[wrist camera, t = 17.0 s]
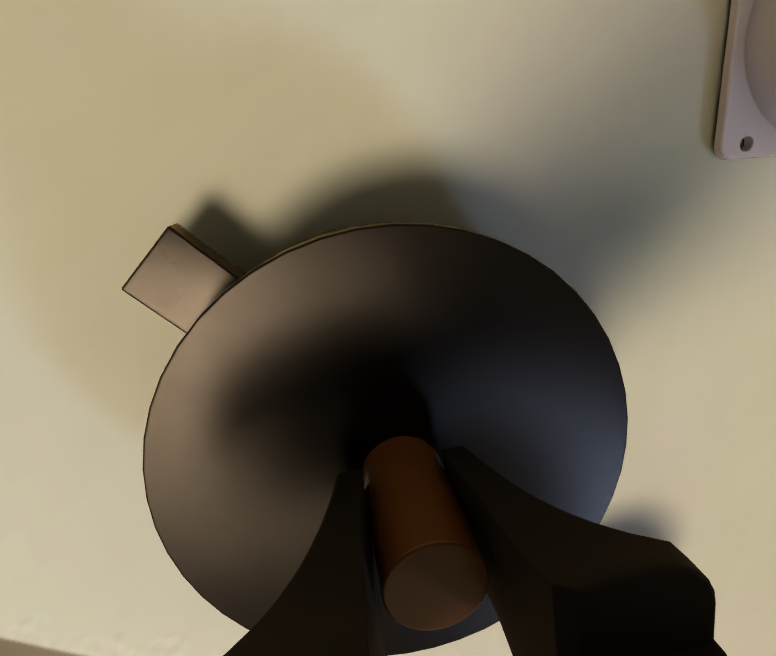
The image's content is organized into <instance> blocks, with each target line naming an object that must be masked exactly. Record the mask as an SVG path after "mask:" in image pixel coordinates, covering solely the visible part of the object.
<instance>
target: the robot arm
mask: <svg viewBox="0 0 776 656" xmlns="http://www.w3.org/2000/svg"><path fill="white" fill-rule="evenodd" d="M742 139H744V146H743V148H742V149H740V142H741V140H742ZM714 152H715V154H716V156H717V157H718V158H720V159H724V160H727V159H742V158H754V157H766V156H776V0H731V9H730V17H729V25H728V34H727V42H726V51H725V59H724V67H723V76H722V84H721V92H720V101H719V109H718V118H717V126H716V134H715V143H714ZM442 456H443V463H444V469H445V472H446V474H447V476H448V479H449V481H450V483H451V485H452V488H453V490H454V492H455V494H456V496H457V499H458V501H459V503H460V505H461V507H462V510H463V512H464V514H465V516H466V519H467V521H468V523H469V525H470V528H471V530H472V532H473V534H474V537H475V539H476V541H477V543H478V546H479V548H480V550H481V552H482V554H483V557H484V559H485V561H486V564H487V566H488V570H489V585H488V589H487V592H486V593H487V595H488V597H489V599H490V601H491V603H492V605H493V607H494V609H495V611H496V614H497V616H498V618H499V621H500V623H501V625H502V628H503V631H504V633H505V636H506V639H507V641H508V644H509V647H510V649H511V652H512V655H513V656H727V655H726V653H725V652H724V651H723V649H722V648H721V647H720V646H719V645H718V644H717V642H716V641H715V640H714V623H715V605H716V602H715V592H714V589H713V587H712V585H711V583H710V581H709V579H708V578H707V577H706V576H705V575H704V574H703V573H702V572H701V571H700V570H699V569H698V568H697V567H696V566H695V565H694V564H693V563H692V562H691V561H690V560H689V559H688V558H687V557H686V556H685V555H684V554H683V553H682V552H681V551H680V550H678V549H677V548H676V547H675V546H674V545H673V544H672V543H671V542H669V541H664V540H659V539H655V538H650V537H645V536H640V535H635V534H631V533H627V532H624V531H620V530H617V529H613V528H610V527H606V526H603V525H600V524H597V523H594V522H591V521H588V520H586V519H583V518H581V517H578V516H575V515H573V514H570V513H568V512H566V511H563V510H561V509H559V508H557V507H555V506H553V505H551V504H548V503H546V502H544V501H542V500H540V499H538V498H537V497H535V496H533V495H531V494H529V493H528V492H526V491H524V490H523V489H521V488H519V487H518V486H516V485H515V484H513V483H512V482H510V481H509V480H507V479H506V478H505V477H503V476H502V475H500V474H499V473H497V472H496V471H495V470H493V469H492V468H491V467H489V466H488V465H487V464H485V463H484V462H483V461H481V460H480V459H479V458H478V457H476V456H475V455H474V454H473V453H471V452H470V451H469V450H468V449H467V448H465V447H464V446H458V447H453V448H449V449H445V450H442ZM223 656H387V654H386V646H385V637H384V624H383V611H382V597H381V591H380V585H379V579H378V573H377V567H376V561H375V555H374V549H373V543H372V537H371V530H370V523H369V513H368V507H367V501H366V495H365V490H364V485H363V480H362V476H361V471H360V469H357V470H353V471H348V472H344V473H340V474H338V476H337V477H336V480H335V485H334V489H333V493H332V496H331V499H330V502H329V505H328V508H327V510H326V513H325V515H324V518H323V521H322V523H321V526H320V528H319V530H318V532H317V534H316V536H315V538H314V541H313V543H312V545H311V547H310V549H309V551H308V552H307V554H306V556H305V558H304V560H303V561H302V563H301V565H300V566H299V568H298V570H297V571H296V573H295V575H294V576H293V577H292V579H291V580H290V582H289V583H288V585H287V586H286V588H285V589H284V591H283V592H282V593H281V595H280V596H279V597H278V599H277V600H276V601H275V603H274V604H273V605H272V606H271V607H270V609H269V610H268V611H267V612H266V613H265V615H264V616H263V617H262V618H261V619H260V620H259V621H258V622H257V623H256V625H255V626H254V627H253V628H252V629H251V630H250V631H249V632H248V633H247V634H246V635H245V636H244V637H243V638H242V639H240V640H239V641H238V642H237V643H236V644H235V645H234V646H233V647H232V648H231V649H230V650H229V651H228V652H227V653H226V654H225V655H223Z"/></svg>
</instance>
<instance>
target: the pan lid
mask: <svg viewBox="0 0 776 656" xmlns="http://www.w3.org/2000/svg"><path fill="white" fill-rule="evenodd" d="M627 421H628V416H627V405H626V393H625V388H624V383H623V379H622V375H621V370H620V366H619V363H618V361H617V358H616V356H615V353H614V351H613V348H612V345H611V343H610V340H609V338H608V336H607V335H606V333H605V331H604V330H603V328H602V326H601V324H600V323H599V321H598V319H597V318H596V316H595V314H594V313H593V312H592V310H591V309H590V308H589V307H588V306H587V304H586V303H585V302H584V301H583V299H582V298H581V297H580V296H579V294H578V293H577V292H576V291H575V290H574V289H573V288H572V287H571V286H570V285H568V284H567V283H566V282H565V281H564V280H563V279H562V278H561V277H560V276H558V275H557V274H556V273H555V272H554V271H553V270H551V269H550V268H548V267H547V266H545V265H544V264H542V263H541V262H539V261H538V260H536V259H535V258H533V257H532V256H530V255H529V254H527V253H525V252H523V251H521V250H519V249H517V248H514V247H512V246H510V245H508V244H506V243H504V242H502V241H499V240H497V239H495V238H492V237H489V236H485V235H482V234H479V233H475V232H472V231H469V230H465V229H462V228H457V227H451V226H444V225H438V224H431V223H413V222H388V223H380V224H371V225H363V226H355V227H351V228H347V229H343V230H339V231H335V232H331V233H327V234H324V235H320V236H317V237H315V238H312V239H310V240H307V241H305V242H302V243H300V244H297V245H295V246H292V247H290V248H287V249H285V250H284V251H282V252H280V253H278V254H276V255H275V256H273V257H271V258H269V259H268V260H266V261H264V262H262V263H261V264H259V265H257V266H255V267H254V268H252V269H251V270H250V271H249V272H247V273H246V274H245V275H243V276H242V277H241V278H239V279H238V280H237V281H235V282H234V283H233V284H231V285H230V286H229V287H228V288H226V289H225V290H224V291H223V292H222V293H221V294H220V295H219V296H218V297H217V298H216V299H215V300H214V301H213V302H212V303H211V304H210V305H209V306H208V307H207V308H206V309H205V310H204V311H203V312H202V313H201V314H200V316H199V317H198V318H197V320H196V321H195V322H194V324H193V325H192V326H191V328H190V329H189V330H188V332H187V333H186V334H185V336H184V337H183V338H182V340H181V341H180V343H179V344H178V345H177V347H176V349H175V350H174V352H173V354H172V356H171V358H170V360H169V362H168V363H167V365H166V367H165V369H164V371H163V373H162V375H161V377H160V379H159V382H158V385H157V388H156V391H155V393H154V396H153V399H152V402H151V405H150V408H149V413H148V418H147V423H146V429H145V434H144V443H143V475H144V483H145V490H146V498H147V502H148V505H149V509H150V512H151V515H152V519H153V522H154V525H155V528H156V530H157V532H158V534H159V537H160V539H161V541H162V543H163V545H164V547H165V549H166V551H167V553H168V555H169V556H170V558H171V559H172V561H173V562H174V564H175V565H176V566H177V568H178V569H179V571H180V572H181V574H182V575H183V577H184V578H185V579H186V580H187V581H188V582H189V583H190V584H191V585H192V586H193V587H194V589H195V590H196V591H197V592H198V593H199V594H200V595H201V596H202V597H203V598H204V599H205V600H207V601H208V602H209V603H210V604H211V605H213V606H214V607H215V608H216V609H218V610H219V611H220V612H221V613H222V614H224V615H225V616H227V617H229V618H230V619H232V620H233V621H235V622H237V623H238V624H240V625H241V626H243V627H245V628H246V629H248V630H251V629H252V628H253V627H254V626H255V625H256V623H257V622H258V621H259V620H260V619H261V618H262V617H263V616H264V615H265V613H266V612H267V611H268V610H269V609H270V607H271V606H272V605H273V604H274V603H275V601H276V600H277V599H278V597H279V596H280V595H281V593H282V592H283V591H284V589H285V588H286V586H287V585H288V583H289V582H290V580H291V579H292V577H293V576H294V575H295V573H296V571H297V570H298V568H299V566H300V565H301V563H302V561H303V560H304V558H305V556H306V554H307V552H308V551H309V549H310V547H311V545H312V543H313V541H314V538H315V536H316V534H317V532H318V530H319V528H320V526H321V523H322V521H323V518H324V515H325V513H326V510H327V508H328V505H329V502H330V499H331V496H332V493H333V489H334V485H335V480H336V477H337V476H338V474H340V473H344V472H348V471H353V470H357V469H360V471H361V476H362V480H363V485H364V490H365V495H366V501H367V507H368V513H369V523H370V530H371V537H372V543H373V549H374V555H375V561H376V567H377V573H378V579H379V585H380V591H381V597H382V611H383V624H384V637H385V646H386V654H387V655H397V654H406V653H411V652H416V651H420V650H425V649H430V648H434V647H437V646H441V645H444V644H447V643H450V642H453V641H456V640H459V639H462V638H464V637H467V636H469V635H471V634H474V633H476V632H478V631H481V630H483V629H485V628H487V627H489V626H491V625H493V624H495V623H496V622H498V621H499V618H498V616H497V614H496V611H495V609H494V607H493V605H492V603H491V601H490V599H489V597H488V595H487V593H486V592H487V589H488V585H489V570H488V566H487V564H486V561H485V559H484V557H483V554H482V552H481V550H480V548H479V546H478V543H477V541H476V539H475V537H474V534H473V532H472V530H471V528H470V525H469V523H468V521H467V519H466V516H465V514H464V512H463V510H462V507H461V505H460V503H459V501H458V499H457V496H456V494H455V492H454V490H453V488H452V485H451V483H450V481H449V479H448V476H447V474H446V472H445V469H444V463H443V456H442V450H445V449H449V448H453V447H458V446H464V447H465V448H467V449H468V450H469V451H470V452H471V453H473V454H474V455H475V456H476V457H478V458H479V459H480V460H481V461H483V462H484V463H485V464H487V465H488V466H489V467H491V468H492V469H493V470H495V471H496V472H497V473H499V474H500V475H502V476H503V477H505V478H506V479H507V480H509V481H510V482H512V483H513V484H515V485H516V486H518V487H519V488H521V489H523V490H524V491H526V492H528V493H529V494H531V495H533V496H535V497H537V498H538V499H540V500H542V501H544V502H546V503H548V504H551V505H553V506H555V507H557V508H559V509H561V510H563V511H566V512H568V513H570V514H573V515H575V516H578V517H581V518H583V519H586V520H588V521H591V522H594V523H597V524H599V523H600V522H601V520H602V518H603V516H604V514H605V512H606V509H607V507H608V505H609V503H610V501H611V499H612V497H613V494H614V491H615V488H616V485H617V482H618V479H619V476H620V473H621V469H622V464H623V459H624V453H625V448H626V439H627Z"/></svg>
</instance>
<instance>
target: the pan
mask: <svg viewBox="0 0 776 656" xmlns="http://www.w3.org/2000/svg"><path fill="white" fill-rule="evenodd" d="M361 226H363V225H361ZM349 228H351V227H349ZM343 229H347V228H338V229H330V230H325V231H323V232H321V233H320V234H318V235H316V236H314V237H312V238H315V237H317V236H320V235H324V234H327V233H331V232H335V231H339V230H343ZM312 238H310V239H312ZM310 239H308V240H310ZM306 241H307V240H306ZM304 242H305V241H304ZM243 275H245V273H244V272H242V271H241V270H240V269H238V268H237V267H236V266H234V265H233V264H232V263H230V262H229V261H228V260H226V259H225V258H224V257H222V256H221V255H220V254H218V253H217V252H216V251H214V250H213V249H211V248H210V247H209V246H207V245H206V244H205V243H203V242H202V241H201V240H199V239H198V238H197V237H195V236H194V235H193V234H191V233H190V232H189V231H187V230H186V229H185V228H183V227H182V226H181V225H179V224H177V223H176V224H174V225H171V226H169V227H167V228H166V230H165V231H164V232H163V234H162V235H161V236H160V238H159V239H158V240H157V242H156V243H155V244H154V246H153V247H152V248H151V250H150V251H149V252H148V254H147V255H146V256H145V258H144V259H143V260H142V262H141V263H140V264H139V266H138V267H137V268H136V270H135V271H134V272H133V274H132V275H131V276H130V278H129V279H128V280H127V282H126V283H125V284H124V286H123V287H122V290H123V291H124V292H126V293H127V294H129V295H130V296H132V297H133V298H135V299H136V300H138V301H139V302H141V303H142V304H144V305H145V306H147V307H148V308H150V309H151V310H153V311H154V312H155V313H157V314H158V315H160V316H161V317H163V318H164V319H166V320H167V321H169V322H170V323H172V324H173V325H175V326H176V327H178V328H179V329H181V330H182V331H184V332H185V333H187V332H188V330H189V329H190V328H191V326H192V325H193V324H194V322H195V321H196V320H197V318H198V317H199V316H200V314H201V313H202V312H203V311H204V310H205V309H206V308H207V307H208V306H209V305H210V304H211V303H212V302H213V301H214V300H215V299H216V298H217V297H218V296H219V295H220V294H221V293H222V292H223V291H224V290H225V289H226V288H228V287H229V286H230V285H231V284H233V283H234V282H235V281H237V280H238V279H239V278H241V277H242V276H243Z"/></svg>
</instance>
